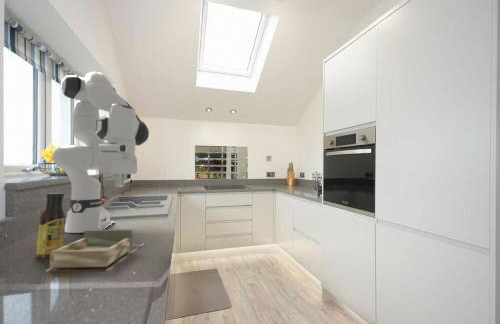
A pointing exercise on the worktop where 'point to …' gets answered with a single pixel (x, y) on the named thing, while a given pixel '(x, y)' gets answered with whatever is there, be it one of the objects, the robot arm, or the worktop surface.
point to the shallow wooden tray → (93, 249)
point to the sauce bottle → (51, 226)
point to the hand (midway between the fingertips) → (119, 187)
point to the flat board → (70, 269)
